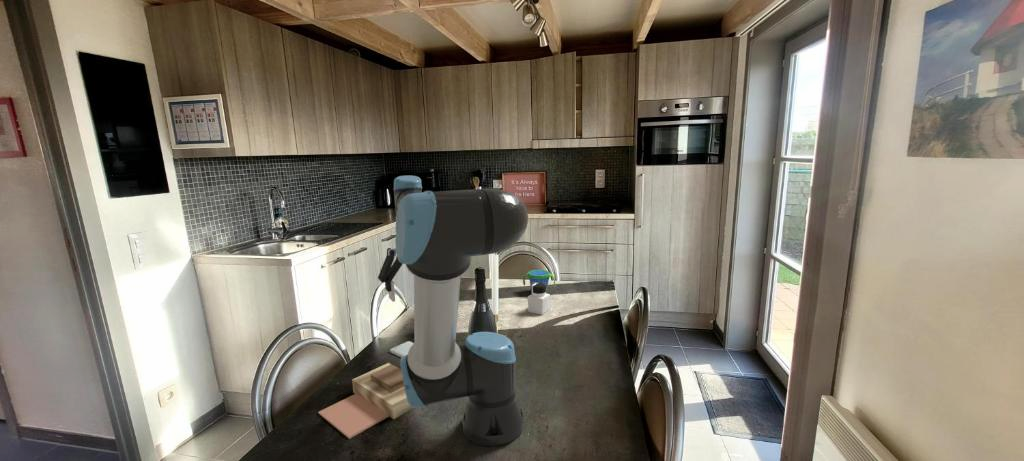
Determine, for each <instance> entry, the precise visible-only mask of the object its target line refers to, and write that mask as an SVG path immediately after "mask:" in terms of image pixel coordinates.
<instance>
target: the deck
mask: <svg viewBox="0 0 1024 461" xmlns="http://www.w3.org/2000/svg"><path fill="white" fill-rule="evenodd" d="M389 365H393V364H391V363H390V362H387V363H386V364H382V365H381V366H378V367H377V368H374V369H372V370H370V371H368V372H366V373H364V374H362V375H359V376H357V377H355V378H352V379H351V381H352V382H351V383H352V391H353V393H354V394H356V393H358V394H359V395H361V396H362V397H364V398H365V399H367V400H368V401H370V402H371V403H373V404H374V405H375V406H377V407H378V408H380V409H381V410H383V411H384V412H386V413H387V414H389V417H388V418H391V419H393V420H396V419H397V418H399V417H400V416H401V415H404V414H405V413H407V412H409V411H410V410H413V409H414V408H413V407H411V406H410V405H409V403H408V401H407V397H406V392H405V387H402V388H400V389H398V390H396V391H394V392H392V393H390V392H389V391H387V390H385V389H384V388H382V387H381V386H379V385H377V384H376V383H374V382H372V381H371V375H370V374H372V373H374V372H376V371H379V370H381V369H383V368H385V367H387V366H389Z"/></svg>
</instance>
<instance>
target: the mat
mask: <svg viewBox="0 0 1024 461" xmlns="http://www.w3.org/2000/svg"><path fill="white" fill-rule="evenodd" d="M317 414H319V416H321V417H322V418H323V419H324V420H326V421H327V422H328V423H329V424H331V425H332V426H333V427H334V428H335V429H336V430H338V431H339V432H340V433H341V434H342V435H344V436H345V437H346V438H347V439H349V440H350V439H352V438H353V437H355V436H357V435H359V434H361V433H363V432H365V431H367V429H369V428H371V427H373V426H374V425H377V424H379V423H380V422H382V421H383V420H385V419H387V418H390V417H389V414H387V413H386V412H384V411H383V410H381V409H380V408H378V407H377V406H375V405H374V404H373V403H371V402H370V401H368V400H367V399H365V398H364V397H362V396H361V395H359V394H358V393H356V394H355V393H354V394H352V395H350V396H348V397H346V398H344V399H342V400H340V401H338V402H336V403H333V404H332V405H330V406H327V407H326V408H323V409H321V410H319V411H318V413H317Z"/></svg>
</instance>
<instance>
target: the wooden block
mask: <svg viewBox="0 0 1024 461" xmlns="http://www.w3.org/2000/svg"><path fill="white" fill-rule="evenodd" d="M370 375H371V381H372V382H374V383H376V384H377V385H379V386H381V387H382V388H384V389H385V390H387V391H389V392H390V393H392V392H394V391H396V390H398V389H400V388H402V387H404V383H403V377H402V372H401V367H400V368H399V367H398V366H396V365H394V364H392V365H389V366H387V367H385V368H383V369H381V370H379V371H376V372H374V373H372V374H370Z"/></svg>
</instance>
